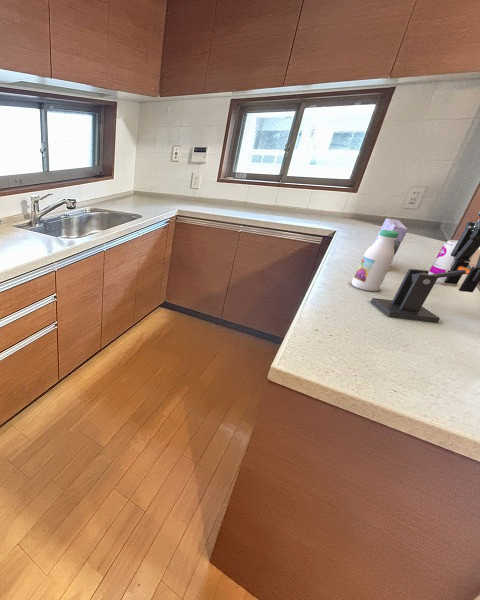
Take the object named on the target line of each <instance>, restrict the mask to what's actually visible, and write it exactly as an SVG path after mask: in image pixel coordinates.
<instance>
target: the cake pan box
mask: <svg viewBox="0 0 480 600" xmlns="http://www.w3.org/2000/svg"><path fill="white" fill-rule="evenodd" d="M381 230H391V231H396V232H399V235H398V237H397V239H396V240H395V241H394V257H395V255H396V254H397V252H398V250H399V248H400V247H401V244H402V242H403V241H404V239H405V237H406V235H407V233H408V231H409V229H408V228H407V227H406V225H404V224H403V223H402V222H401V221H400V220H399V219H393V218H389V217H388V218H387V217H386V218H385V219H384V222H383V224H382V226H381V227H380V229H379V232H378V234H377V235H376V238H375V239H374V241H373V244H374V243H375V242H376V241H377V240H378V238H379V234H380V232H381Z"/></svg>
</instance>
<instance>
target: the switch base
mask: <svg viewBox="0 0 480 600" xmlns="http://www.w3.org/2000/svg"><path fill="white" fill-rule="evenodd" d="M423 272H425V273H427V274H417V276H416V278H415V280H414V281H413V282H412V274H416V273H423ZM428 272H429V270H427V269H416V268H408V270H406V273H405V274H404V277H403V279H402V281H401V283H400V285H399V287H398V289H397V290H396V293H395V295H394V296H393V298H392V299H386V298H378V297H372V298H371V301H370V303H371V304H373V305H374V306H375V307H376V308H378V309H379V311H381V312H382V313H383V314H384V315H386V316H387V317H390V318H396V319H405V320H413V321H418V322H419V321H421V322H428V323H435V324H437V323H439V321H441V320H440V319H441V318H440V317H439V316H437V315H436V314H435V313H433V312H432V311H430V310H428V309H427V308H425V307H424V306H423V305H424V303H425V302H426V300H427V298H428V296H429V295H430V293H431V291H432V290H433V288H434V286H435V285H436V283H435V282H436V280H437V279H438V276H437V275H428Z"/></svg>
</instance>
